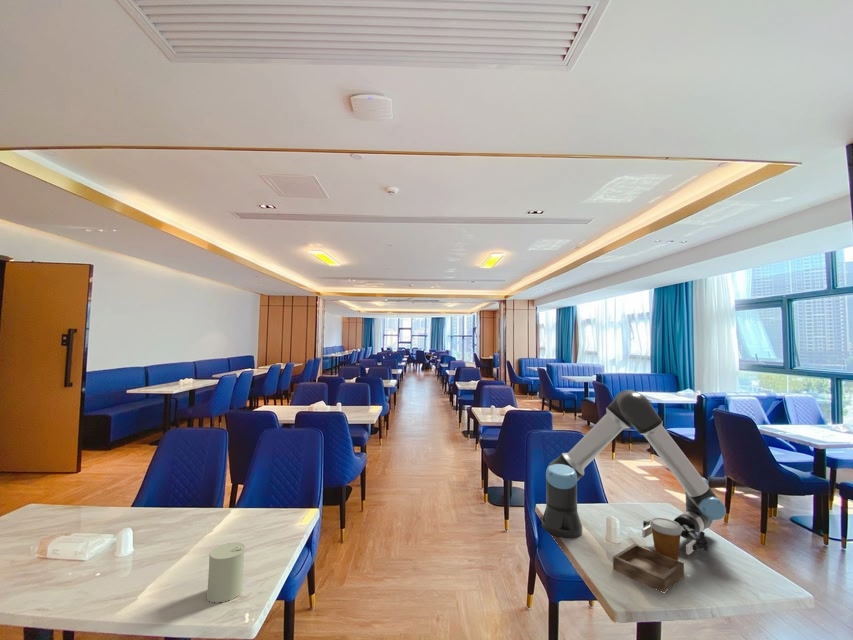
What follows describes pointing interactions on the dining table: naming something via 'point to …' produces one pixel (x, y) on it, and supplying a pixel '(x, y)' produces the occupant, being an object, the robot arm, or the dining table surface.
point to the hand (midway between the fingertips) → (664, 541)
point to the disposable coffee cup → (666, 537)
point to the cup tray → (648, 567)
